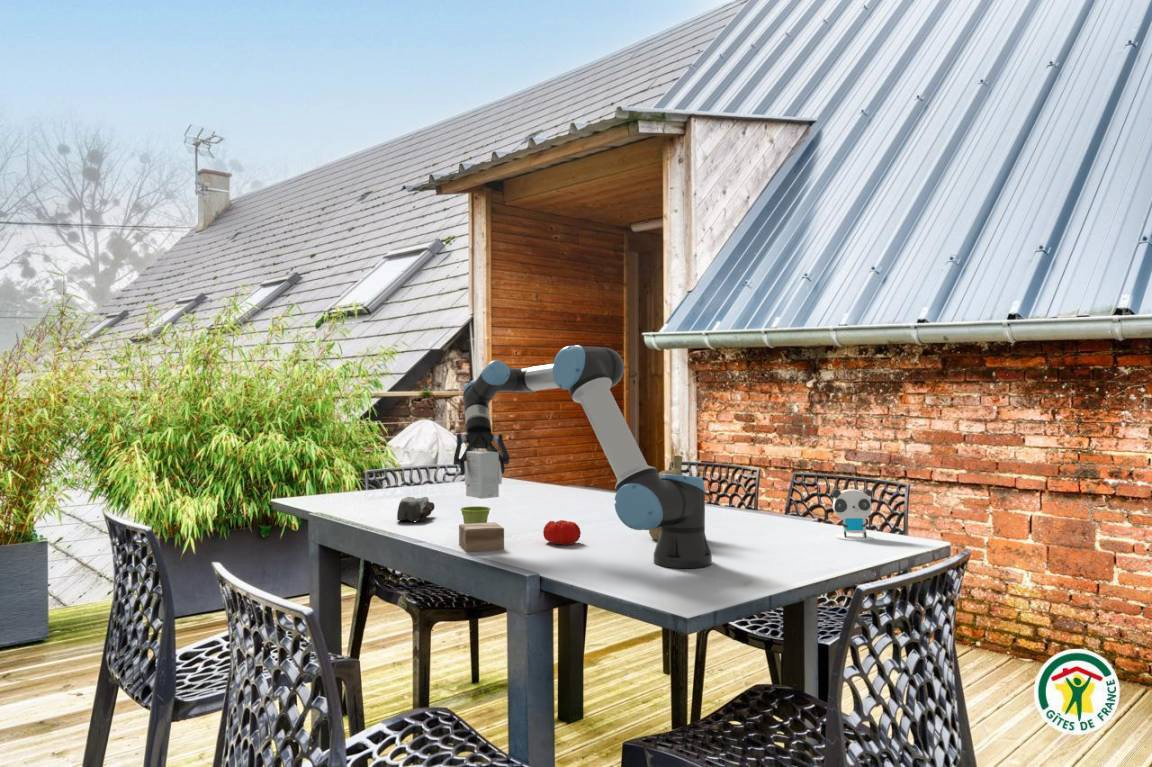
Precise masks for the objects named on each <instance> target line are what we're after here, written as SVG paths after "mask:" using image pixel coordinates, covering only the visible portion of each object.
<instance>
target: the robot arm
mask: <svg viewBox="0 0 1152 767" xmlns="http://www.w3.org/2000/svg"><path fill="white" fill-rule="evenodd" d="M624 372H625V364H624V360H623V359H622V357H621V355H620V354H619V353H618V352H617V351H615V350H614V349H612V348H609V347H604V346H603V347H602V346H601V347H600V346H584V345H583V346H582V345H579V344H577V345H576V344H575V345H568V346H565V347H563V348H561V349H560V350H559V351H558V352H557V354H556V355H555V358H554V360H553V363H551V364H550V363H549V364H544V365H536V366H531V367H529V366H528V367H525V368H524V367H523V368H518V367H517V368H511V367H508V365H507V364H506V363H505V362H503V361H502V362H501V361H500V360H491V361H490V362H489V363H487V365H486V366H485V367H484V368H483V369H482V371H481V373H479V375H478V377H477V378H476V379H475V380H471V381H470V382H467V383H466V384H465V385H464V387H463V389H462V390H463V392H462V395H463V396H462V400H463V408H464V417H465V418H464V419H465V435H461V434H457V435H456V447H455V452H454V457H453V462H452V463H453V465H454V466H459V470H460V471H459V473H460V474H461V475H464V484H465V486H466V485H468V467H467V461H466V457H467V456H466V452H469V451H474V449H477V450H478V449H484V450H485V451H489V452H499V485H502V481H503V474H505V471H506V470H505V469H506V468H505V465H509V462H510V458H511V457H510V454H509V453H508V451H507V449H506V445H505V443H504V440H503V434H502V433H501V434H498V435H494V434H493V432H492V426H491V416H490V405H489V404H490V402H491V401H492V400H493V399H494V397H495V396H496V395H497V393H526V394H527V393H535V392H537V391H545V390H554V389H560V388H561V389H562V390H567V391H568V392H569V395H570V397H571V399H572V400H573V402H575V403H578V404H581V407H582V408H583V411H584V413H585V415H586V417H587V418H588V419H587V420H588V421H589V423H590V425H591V427H592V430H593V431H594V433H595V436H596V437H597V441H598V442H599V445H600V447H601V449H602V450H603V453H604V454H605V457H606V459H607V461H608V463H609V465H610V467H611V469H612V471H613V473H614V475H615V477H616V480H617V481H616V483H615V487H614V489H615V491H616V494H615V496H614V501H615V503H614V509H615V513H616V514H617V517H618V518H619V520H620V521H621V522H622V523H623V525H624V526H626V527H627V528H628V529H632V530H635V531H649V530H651V529H654V528H658V527H660V536H659V539H658V540H657V543H656V545H655V549H654V552H653V563H654V564H655V565H658V566H661V567H668V568H674V569H698V568H704V567H708V566H711V565H712V562H713V561H712V560H713V558H712V552H711V550H710V549H711V548H710V546H709V543H708V540H707V536H706V529H705V528H706V526H705V525H706V521H705V520H706V519H705V518H706V507H705V506H706V499H705V498H706V490H705V488H706V487H705V480H704V479H703V478H702V477H701V476H692V475H683V474H682V475H673V474H662V475H661V476H659V474H658V473H659V472H658V469H657V467H655V466H651V465H648V463H647V461H646V459H645V457H644V455H643V453H642V451H641V449H640V447H639V445H638V444H637V441H636V439H635V437H634V435H633V433H632V431H631V429H630V427H629V425H628V423H627V421H626V419H625V418H624V415H623V413H622V412H621V410H620V408H619V407H620V406H618V403H617V402H616V400H615V398H614V395H613V393H612V391H611V388H613V387H615V386H616V385H617V384H619V382H621V379H622V377H623V376H624ZM465 441H466V442H467V444H468V445H467V447H466V449H465V450H464V452H463V454H462V455H461V449H462V446H463V444H464V442H465ZM493 441H494V443H496V445H497V448H498V450H497V448H496V447H495V445H493ZM460 456H461V458H460Z"/></svg>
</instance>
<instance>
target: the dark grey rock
mask: <svg viewBox="0 0 1152 767" xmlns="http://www.w3.org/2000/svg"><path fill="white" fill-rule="evenodd" d="M429 500H430V499H429V498H428V496H423V497H417V498H415V497H414V496H413V497H411V496H406V497H404V498H402V499H401V500H400V501H399V504H398V508H397V514H396V520H397V521H398V520H400V521H405V520H408V521H409V522H412V521H417V522H419V521H420V520H423V519H424V518H425V519H426V518H427V517H429V516H430V515H431V514H432V512H433V511H434V510H435V503H434V502H433V501H432V502H430V501H429ZM419 519H420V520H419ZM418 520H419V521H418Z"/></svg>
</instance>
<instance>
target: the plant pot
mask: <svg viewBox="0 0 1152 767" xmlns="http://www.w3.org/2000/svg"><path fill="white" fill-rule="evenodd" d="M460 511H461V515H462V518H463V524H473V523H488V517H489V514H490V511H491V507H488V506H483V505H482V506H481V505H479V506H477V505H476V506H475V505H474V506H465V507H461V508H460Z"/></svg>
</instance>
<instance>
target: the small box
mask: <svg viewBox="0 0 1152 767" xmlns="http://www.w3.org/2000/svg"><path fill="white" fill-rule="evenodd" d="M499 453H500V451H498V452H489V451H487V450H476V451H475V450H473V451H469V452H466V456H467V457H466V461H467V467H468V485H465V496H466V497H471V498H476V499H481V500H483V499H491V498H499V496H500V494H499V492H500V491H499V490H500V488H499V485H500V484H499Z"/></svg>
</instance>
